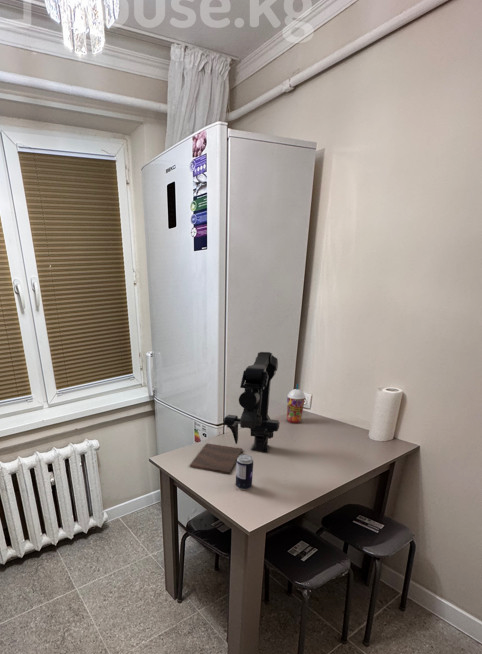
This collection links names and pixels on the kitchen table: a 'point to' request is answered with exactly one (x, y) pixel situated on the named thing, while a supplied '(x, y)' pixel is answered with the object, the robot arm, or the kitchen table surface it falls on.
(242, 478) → the beverage can
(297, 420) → the smoothie
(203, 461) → the board
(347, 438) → the kitchen table surface
